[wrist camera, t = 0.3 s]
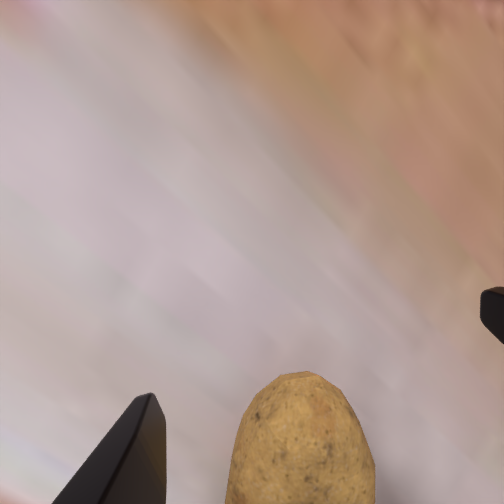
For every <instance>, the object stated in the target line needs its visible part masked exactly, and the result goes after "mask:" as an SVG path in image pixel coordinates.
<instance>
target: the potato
mask: <svg viewBox="0 0 504 504" xmlns="http://www.w3.org/2000/svg"><path fill="white" fill-rule="evenodd" d="M374 503H375V463H374V460H373V458H372V455H371V452H370V449H369V446H368V443H367V441H366V438H365V435H364V433H363V430H362V427H361V425H360V422H359V420H358V418H357V416H356V415H355V413H354V411H353V409H352V407H351V406H350V404H349V403H348V401H347V399H346V398H345V396H344V395H343V393H342V392H341V390H340V389H338V388H337V387H335V386H334V385H332V384H331V383H330V382H328V381H327V380H325V379H324V378H322V377H321V376H319V375H317V374H314V373H311V372H308V371H305V372H298V373H291V374H285V375H280V376H279V377H278V378H276V379H275V380H274V381H273V382H271V383H270V384H269V385H268V386H266V387H265V388H264V389H262V390H261V391H260V392H259V393H257V394H256V396H255V397H254V399H253V401H252V402H251V404H250V405H249V407H248V408H247V410H246V411H245V413H244V415H243V417H242V420H241V423H240V426H239V429H238V432H237V435H236V440H235V445H234V449H233V454H232V459H231V465H230V472H229V479H228V486H227V492H226V499H225V504H374Z"/></svg>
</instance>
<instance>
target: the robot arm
mask: <svg viewBox="0 0 504 504" xmlns="http://www.w3.org/2000/svg"><path fill="white" fill-rule="evenodd" d="M480 319H481V321H482V323H483V324H484V326H485V327H486V328H487V329H488V330H489V331H490V332H491V333H492V334H493V335H494V336H495V337H496V338H497V339H498V340H499V341H500V342H502V343H503V344H504V287H494V288H490V289H487V290H484V291H483V292H482V294H481V298H480ZM166 484H167V473H166V420H165V416H164V414H163V411H162V409H161V407H160V405H159V403H158V401H157V398H156V396H155V395H154V394H153V393H147V394H144V395H140V396H138V397H136V398H135V399H134V400H133V401H132V402H131V404H130V405H129V406H128V408H127V409H126V410H125V411H124V413H123V414H122V415H121V416H120V418H119V419H118V420H117V421H116V423H115V424H114V425H113V427H112V428H111V429H110V430H109V432H108V433H107V434H106V435H105V437H104V438H103V439H102V440H101V442H100V443H99V444H98V446H97V447H96V448H95V449H94V451H93V452H92V453H91V454H90V456H89V457H88V458H87V460H86V461H85V462H84V463H83V465H82V466H81V467H80V468H79V470H78V471H77V472H76V473H75V475H74V476H73V477H72V479H71V480H70V481H69V482H68V484H67V485H66V486H65V487H64V489H63V490H62V491H61V492H60V494H59V495H58V496H57V498H56V499H55V500H54V501H53V503H52V504H166Z"/></svg>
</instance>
